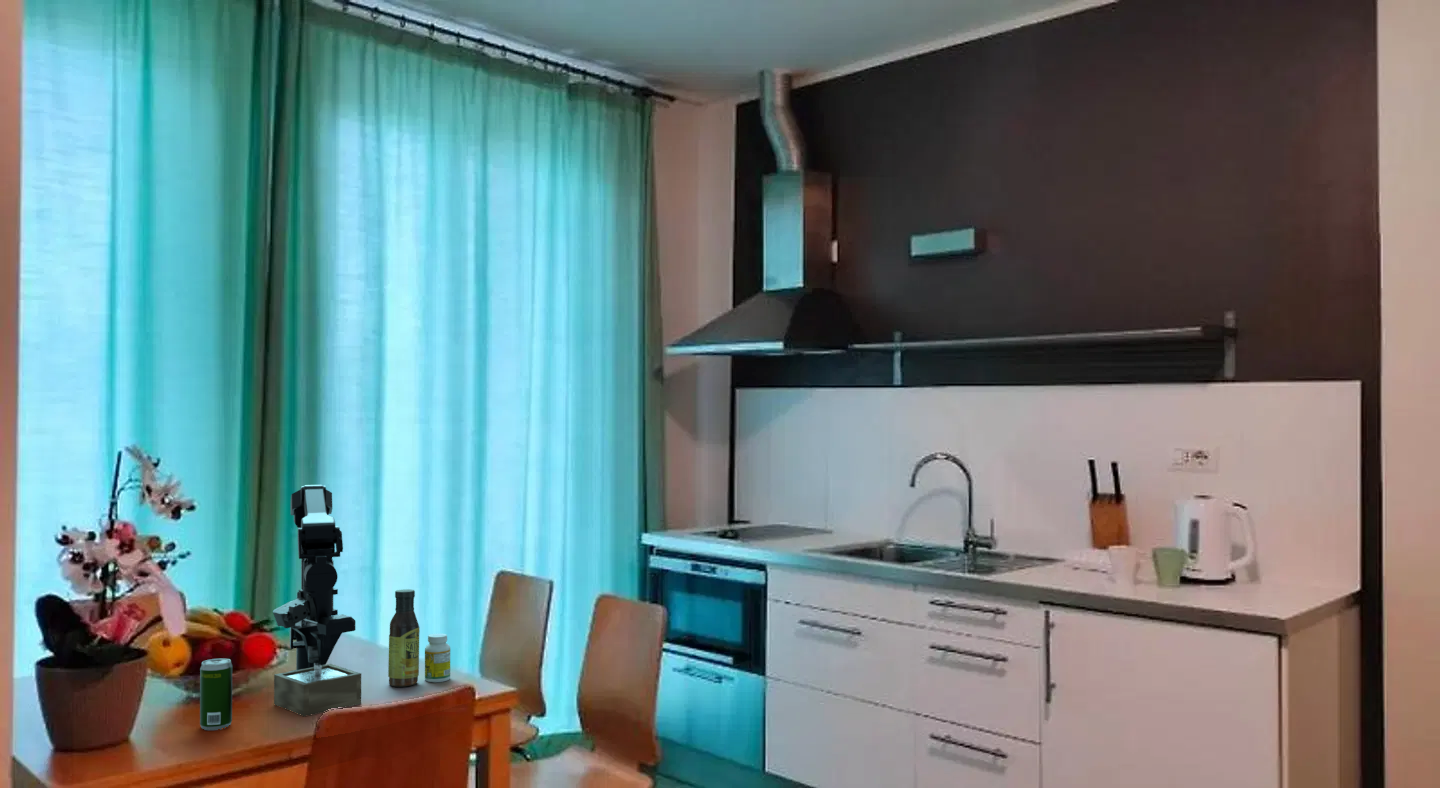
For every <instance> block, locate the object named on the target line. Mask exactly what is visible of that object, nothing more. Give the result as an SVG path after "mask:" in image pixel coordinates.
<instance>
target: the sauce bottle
mask: <svg viewBox="0 0 1440 788" xmlns="http://www.w3.org/2000/svg"><path fill="white" fill-rule="evenodd" d="M415 597H416V591H415V589H409V588H408V589H407V588H406V589H397V590H395V591H394V598H395V608H394V609H395V613H394V615H393V616H392V618H391V620H390V622H389V635H388V665H387V667H388V672H387V673H388V674H387V675H388V684H389V685H390V686H391V687H395V688H396V687H397V688H398V687H399V688H403V687H410V686H414V685H416V684H417V683H418V680H419V676H420V675H419V673H420V625H419V622H418V618H417V616H416V613H415V606H414V605H415V604H414V603H415V600H414V599H415Z"/></svg>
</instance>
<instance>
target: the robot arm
mask: <svg viewBox="0 0 1440 788" xmlns="http://www.w3.org/2000/svg"><path fill="white" fill-rule="evenodd" d="M332 512H333V492H331V491H330V490H328V489H327V486H326V485H323V484H305V485H303V486H300V489H299V490H297V491H295V492H292V493H291V495H290V515H291V516H293V522H294V524H295V526H296V528H297V551H298V553H297V554H298V559H299V560H300V561H301V562H300V564H301V565H300V566H301V567H300V570H301V571H300V581H301V582H300V584H301V586H300V588H301V589H298V591H297V593H296V594H297V595H296V599H293V600H290V601H287V602H286V603H284V604H282V605H281V606H278V607H277V608H275V609H273V610H272V614H273V616H274V619H275V622H276V624H277V627H283V628H284V629H289V649H290V650H293V649H296V653H295V654H296V655H295V656H296V658H295V659H296V663H295V664H296V667H295V668H296V669H295V670H301V669H306V668H311V667H314V663H310V662H308V646H309V645H312V644H317V645H318V655H319V662H320V665H327V663H328V661H329V659H330V657H331V654H332V652H333V650H334V648H335V647H336V644H337V643H338V641H339V639H340V637H341V636H342V634H343V633H349V632H350V633H351V632H354V631H356V620H355V619H354V618H353V617H352V616H351V615H347V614H338V612H339V611H338V609H336V608H334V596H335V595H338V594H339V593H338V590H339V589H338V588H334V587H335V585H336V584H337V582H338V573H337V570H336V568H335V566H334V564H335V563H334V561H335V560H333V558H340V557H341V553H343V552H344V551H343V550H344V546H343V545H344V543H343V532H342V530H340V529H341V528H340V526H339V525H336V521H335V518H334V517H333V516H330V515H331V514H332ZM295 670H292V671H295Z"/></svg>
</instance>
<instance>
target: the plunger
mask: <svg viewBox="0 0 1440 788" xmlns="http://www.w3.org/2000/svg"><path fill="white" fill-rule="evenodd" d="M308 662H310V663H314V671H309V672H304V673H299V674H294V675H289V676H287V677H290V678H293V679H296V680H299V681H302V682H304V683H310V682H315V681H320V680H325V679H330V678H335V677H340V676H345V675H348V674H345V673H342V672H339V671H336V670H333V669H330V668H325V669H322V665H320V662H319V655H318V645H317V644H312V645H309V646H308Z"/></svg>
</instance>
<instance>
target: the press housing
mask: <svg viewBox="0 0 1440 788" xmlns="http://www.w3.org/2000/svg"><path fill="white" fill-rule="evenodd" d="M325 668H330V669H333V670H336V671H339V672H342V673H345V674H348V675H345V676H340V677H335V678H330V679H325V680H320V681H315V682H310V683H304V682H302V681H299V680H296V679H293V678H290V677H287V676H289V675H294V674H299V673H304V672H309V671H314V667H311V668H306V669H301V670H296V669H295V671H293V670H289V671H284V672H282V673H280V672H279V673H277V674H276V673H275V674H274V675H273V689H274V690H273V705H274V704H275V705H274V706H276V705H277V706H276V707H278V706H280V707H279V708H281V707H283V708H286V709H288V710H291V711H293V712H296V713H298V714H297V715H299V714H301V715H303V716H302V717H304V716H305V717H307V716H306V715H309V716H312V715H317V714H323V713H325V712H324V711H326V710H328V709H331V708H338V707H345V706H349V707H352V706H357V705H362V673H361V672H358V671H354V670H351V669H348V668H346V667H342V666H339V665H336V664H333V663H328V664H327V663H326V664H325V665H322V669H325ZM283 708H282V709H283ZM345 708H346V707H345ZM286 709H285V710H286ZM288 710H287V711H288ZM291 711H290V712H291ZM293 712H292V713H293ZM296 713H295V714H296ZM311 714H312V715H311ZM301 715H300V716H301Z"/></svg>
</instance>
